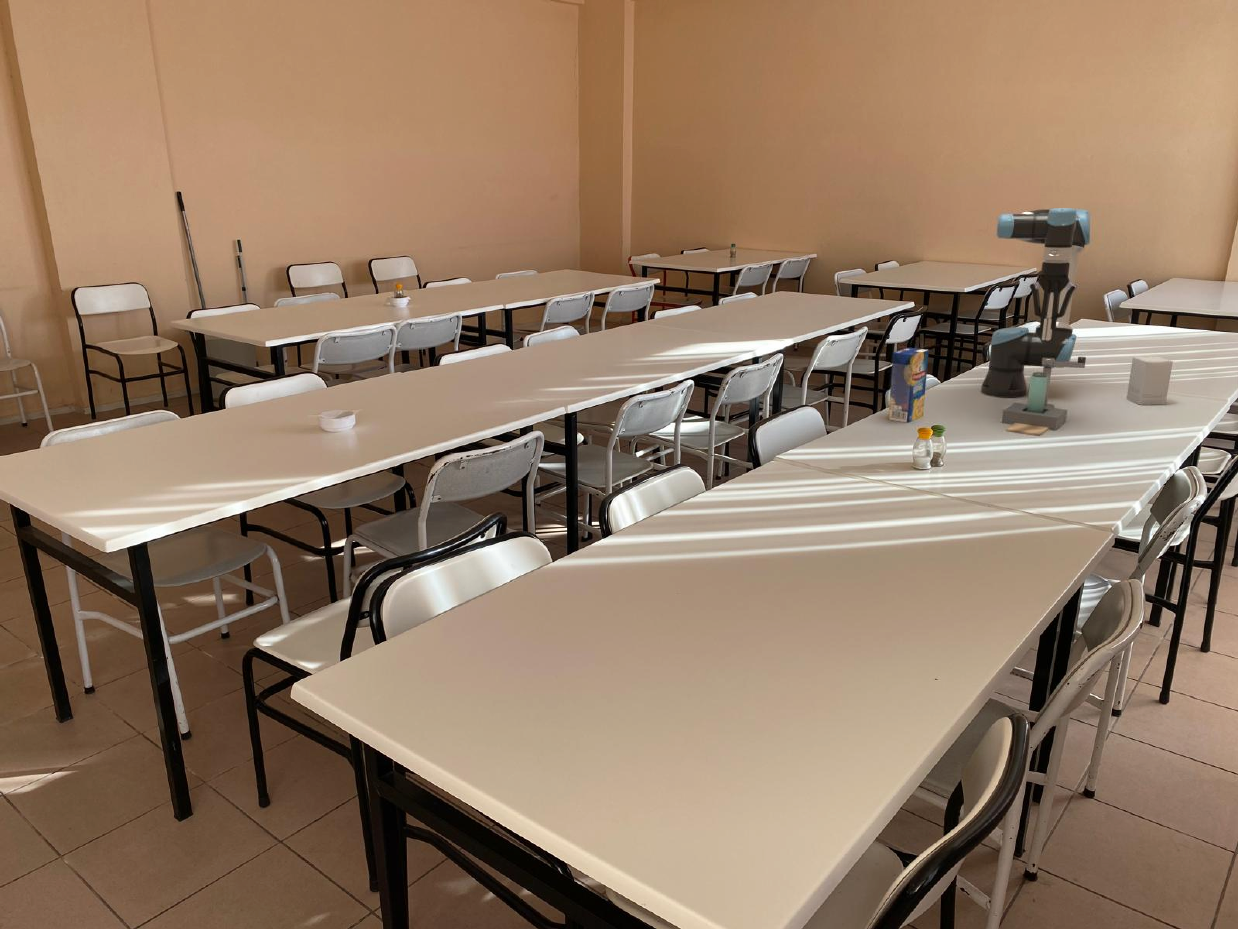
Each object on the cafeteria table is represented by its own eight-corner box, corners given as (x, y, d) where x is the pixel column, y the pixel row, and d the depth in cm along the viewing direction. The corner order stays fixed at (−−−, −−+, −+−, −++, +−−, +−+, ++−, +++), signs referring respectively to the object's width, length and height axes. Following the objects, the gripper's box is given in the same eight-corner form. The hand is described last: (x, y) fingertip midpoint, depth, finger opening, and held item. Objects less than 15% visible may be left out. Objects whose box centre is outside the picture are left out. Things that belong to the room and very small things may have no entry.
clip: (1042, 366, 283) (1043, 356, 282) (1040, 364, 286) (1042, 354, 285) (1085, 368, 279) (1086, 358, 278) (1083, 366, 282) (1085, 356, 281)
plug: (1023, 422, 282) (1029, 373, 277) (1027, 419, 286) (1033, 371, 281) (1039, 425, 279) (1045, 375, 274) (1043, 421, 283) (1050, 373, 278)
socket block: (1001, 422, 283) (1007, 372, 278) (1017, 411, 295) (1023, 363, 290) (1055, 430, 273) (1062, 378, 268) (1069, 418, 285) (1076, 369, 280)
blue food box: (923, 415, 293) (928, 349, 286) (907, 422, 285) (913, 355, 279) (903, 412, 298) (908, 347, 291) (888, 419, 290) (893, 352, 283)
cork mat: (1005, 430, 274) (1005, 429, 274) (1015, 423, 281) (1015, 421, 281) (1040, 436, 268) (1040, 434, 268) (1049, 428, 275) (1049, 426, 275)
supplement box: (1166, 404, 299) (1174, 361, 295) (1139, 405, 299) (1146, 361, 295) (1151, 398, 308) (1158, 355, 303) (1125, 399, 308) (1132, 356, 304)
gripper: (1028, 261, 268) (1019, 339, 276) (1077, 263, 260) (1067, 343, 268) (1035, 259, 274) (1026, 335, 281) (1083, 261, 266) (1073, 339, 273)
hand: (1046, 339), depth 274 cm, fingers closed
